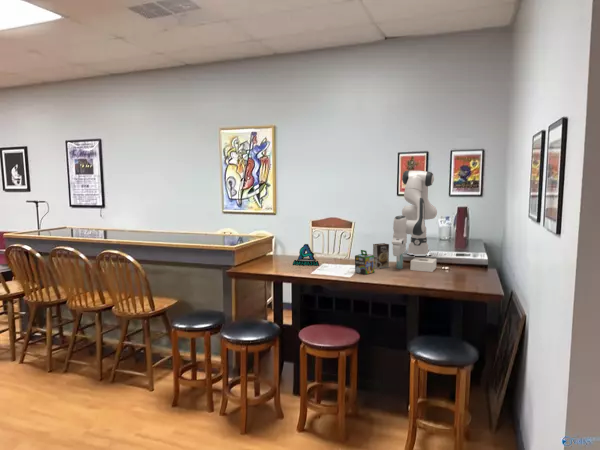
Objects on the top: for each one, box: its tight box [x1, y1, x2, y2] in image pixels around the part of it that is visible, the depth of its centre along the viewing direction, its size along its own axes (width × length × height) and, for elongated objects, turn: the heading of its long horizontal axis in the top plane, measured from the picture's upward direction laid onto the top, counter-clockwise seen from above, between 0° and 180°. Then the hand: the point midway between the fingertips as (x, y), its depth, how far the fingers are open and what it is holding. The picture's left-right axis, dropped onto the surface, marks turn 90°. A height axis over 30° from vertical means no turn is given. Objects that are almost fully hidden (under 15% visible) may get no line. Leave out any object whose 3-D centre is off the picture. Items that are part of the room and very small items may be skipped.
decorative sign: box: [292, 243, 320, 267], centre depth 291 cm, size 19×2×15 cm, turn 76°
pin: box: [395, 253, 404, 270], centre depth 278 cm, size 4×4×10 cm
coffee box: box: [372, 242, 390, 270], centre depth 280 cm, size 9×6×16 cm
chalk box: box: [354, 249, 375, 276], centre depth 266 cm, size 9×9×15 cm
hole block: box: [409, 256, 437, 273], centre depth 275 cm, size 14×14×6 cm
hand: (399, 260), depth 278 cm, fingers closed on pin, 4 cm apart
